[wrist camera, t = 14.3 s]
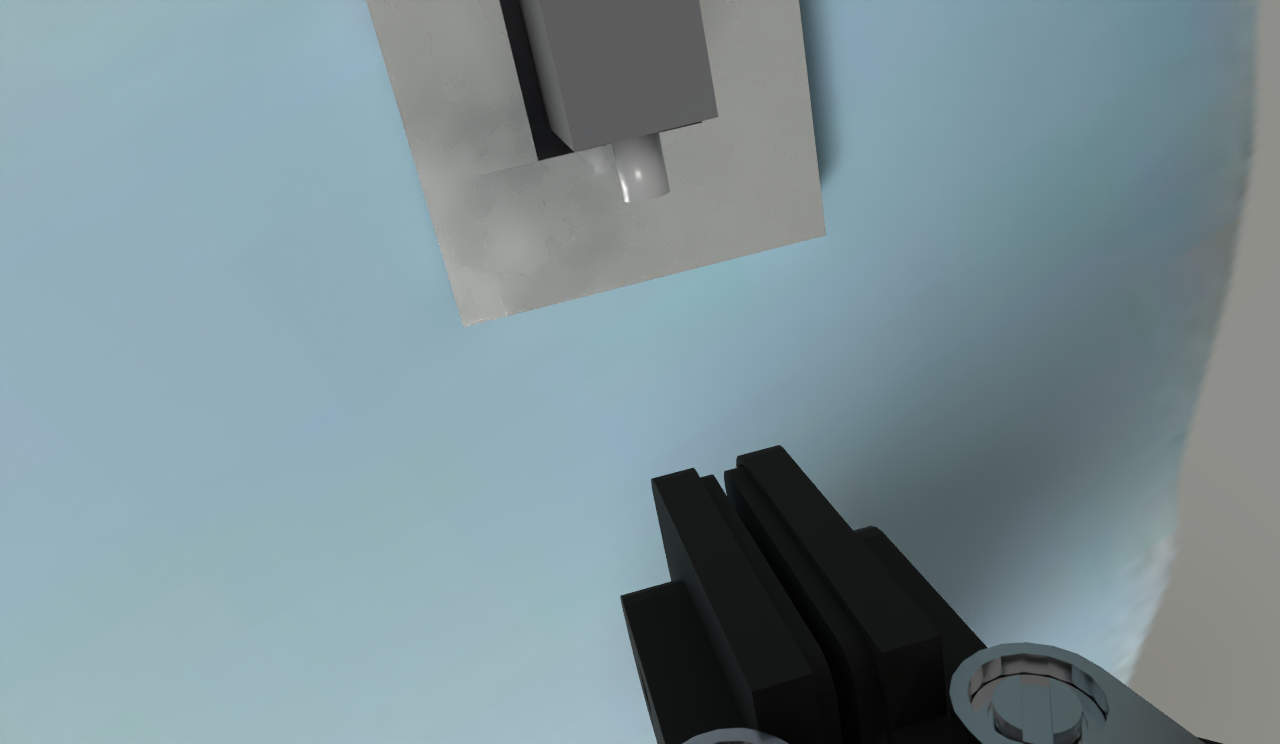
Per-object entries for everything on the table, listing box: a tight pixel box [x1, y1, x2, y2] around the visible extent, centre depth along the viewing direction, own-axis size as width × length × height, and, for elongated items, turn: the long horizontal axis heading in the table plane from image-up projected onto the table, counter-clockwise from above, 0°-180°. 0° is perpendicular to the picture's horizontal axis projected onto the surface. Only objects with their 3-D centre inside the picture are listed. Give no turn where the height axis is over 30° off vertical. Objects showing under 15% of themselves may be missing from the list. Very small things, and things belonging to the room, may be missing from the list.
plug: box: [518, 0, 718, 202], centre depth 26 cm, size 7×4×7 cm, turn 12°
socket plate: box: [366, 0, 826, 327], centre depth 27 cm, size 16×13×3 cm
